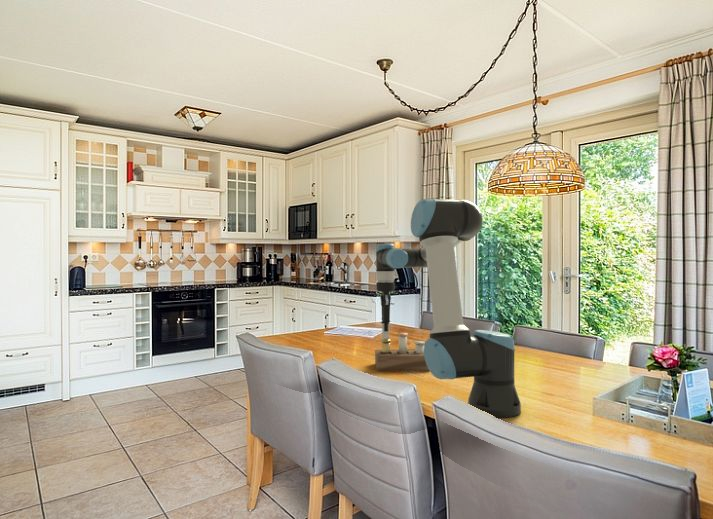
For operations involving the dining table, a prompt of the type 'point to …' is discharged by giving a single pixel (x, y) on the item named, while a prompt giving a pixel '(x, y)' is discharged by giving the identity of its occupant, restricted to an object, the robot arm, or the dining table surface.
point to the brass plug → (385, 346)
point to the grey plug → (419, 346)
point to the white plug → (402, 343)
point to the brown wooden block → (400, 361)
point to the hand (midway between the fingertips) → (385, 338)
